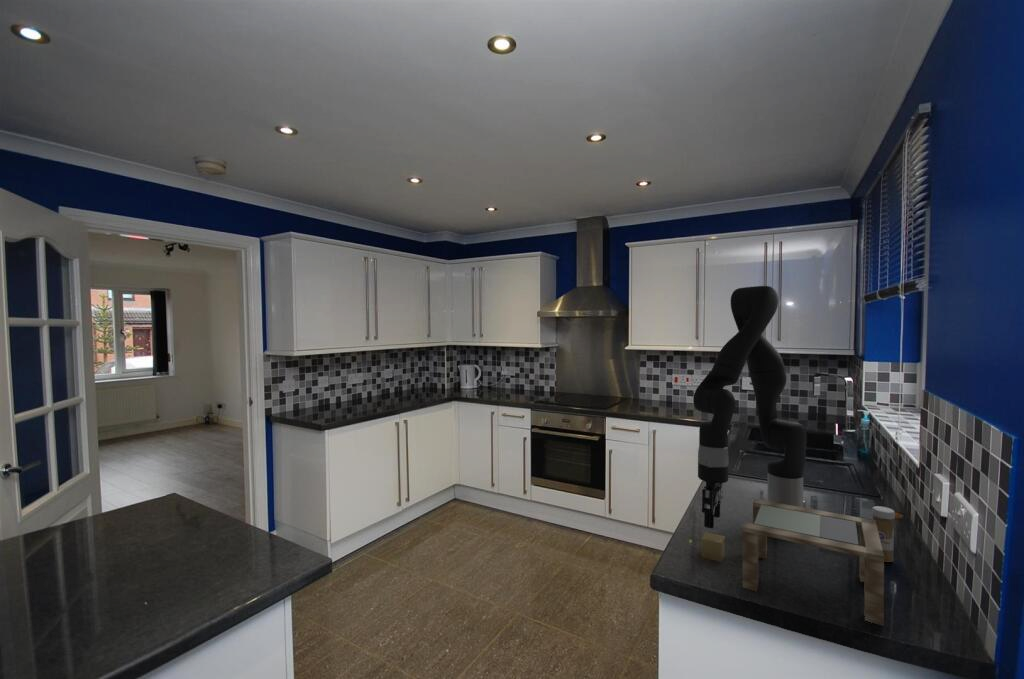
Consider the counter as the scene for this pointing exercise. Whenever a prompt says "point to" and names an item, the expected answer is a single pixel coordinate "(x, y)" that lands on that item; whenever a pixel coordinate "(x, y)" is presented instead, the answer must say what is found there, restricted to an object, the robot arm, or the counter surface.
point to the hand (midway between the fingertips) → (712, 522)
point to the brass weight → (713, 546)
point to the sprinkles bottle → (885, 530)
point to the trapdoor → (810, 526)
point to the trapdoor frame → (868, 548)
